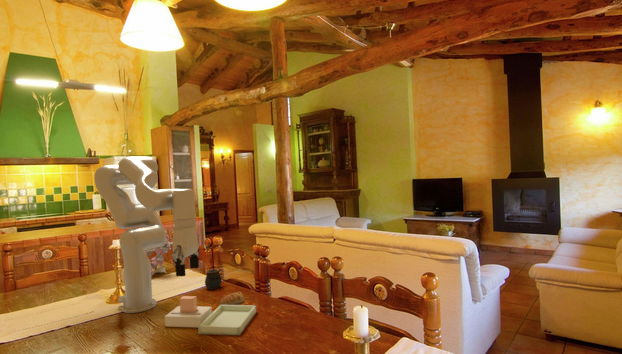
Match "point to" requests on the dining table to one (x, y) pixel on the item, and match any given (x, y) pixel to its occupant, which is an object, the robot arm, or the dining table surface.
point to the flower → (159, 256)
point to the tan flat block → (188, 304)
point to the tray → (227, 320)
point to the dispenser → (187, 317)
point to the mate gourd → (213, 279)
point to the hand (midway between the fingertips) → (187, 271)
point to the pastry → (232, 299)
